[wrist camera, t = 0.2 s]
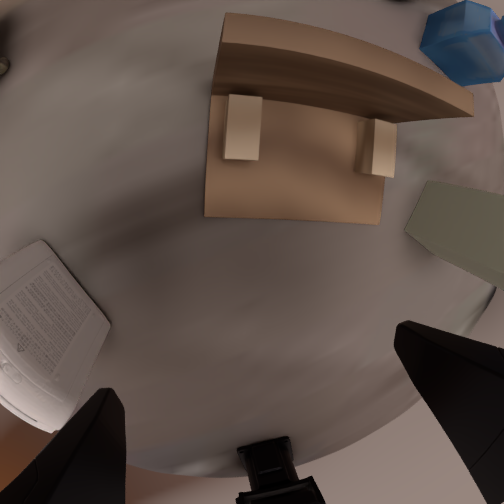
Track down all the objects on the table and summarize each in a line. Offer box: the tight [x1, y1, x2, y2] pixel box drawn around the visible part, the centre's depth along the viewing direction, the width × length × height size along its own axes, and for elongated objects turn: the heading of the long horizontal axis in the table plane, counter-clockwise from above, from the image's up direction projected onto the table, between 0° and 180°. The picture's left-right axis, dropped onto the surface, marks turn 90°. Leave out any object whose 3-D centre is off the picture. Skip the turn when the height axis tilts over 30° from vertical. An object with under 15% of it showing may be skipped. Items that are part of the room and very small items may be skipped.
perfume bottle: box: [419, 0, 504, 86], centre depth 13 cm, size 6×6×12 cm
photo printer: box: [0, 240, 110, 433], centre depth 14 cm, size 10×4×12 cm, turn 35°
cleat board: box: [204, 13, 474, 225], centre depth 16 cm, size 10×14×10 cm
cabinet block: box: [404, 181, 504, 291], centre depth 18 cm, size 6×6×12 cm
